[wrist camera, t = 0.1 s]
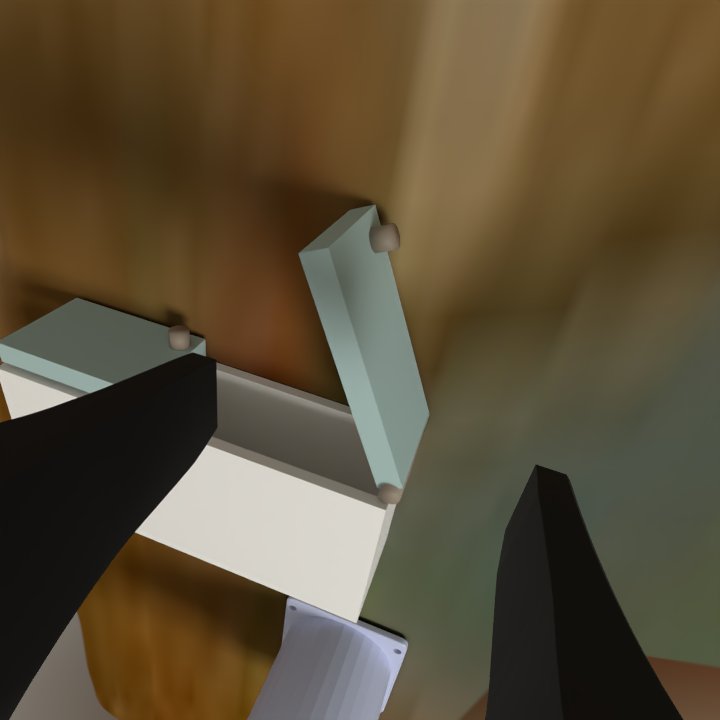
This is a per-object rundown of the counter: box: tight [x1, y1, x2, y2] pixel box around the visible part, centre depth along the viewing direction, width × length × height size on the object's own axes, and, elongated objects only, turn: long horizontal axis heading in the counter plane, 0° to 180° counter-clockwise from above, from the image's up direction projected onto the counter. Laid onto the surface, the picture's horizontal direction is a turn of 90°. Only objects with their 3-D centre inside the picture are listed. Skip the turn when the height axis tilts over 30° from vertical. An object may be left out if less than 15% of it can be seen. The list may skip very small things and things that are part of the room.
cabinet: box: [0, 298, 396, 623], centre depth 25 cm, size 10×18×5 cm, turn 82°
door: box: [298, 205, 429, 504], centre depth 19 cm, size 2×10×5 cm, turn 17°
